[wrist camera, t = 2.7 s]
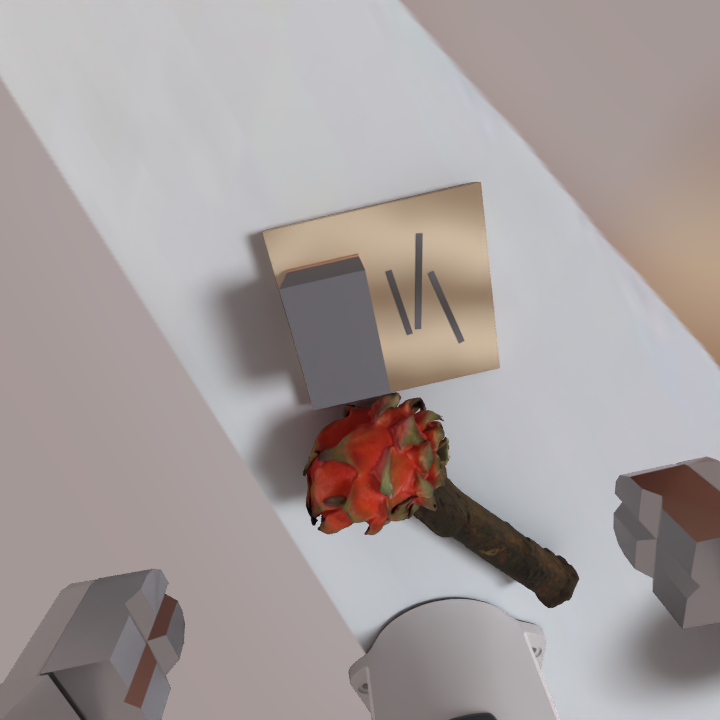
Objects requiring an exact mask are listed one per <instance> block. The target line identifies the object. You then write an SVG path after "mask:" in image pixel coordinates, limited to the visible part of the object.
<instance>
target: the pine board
mask: <svg viewBox="0 0 720 720" xmlns="http://www.w3.org/2000/svg"><path fill="white" fill-rule="evenodd" d="M262 233H263V236H264V240H265V243H266V247H267V250H268V254H269V257H270V261H271V264H272V268H273V271H274V275H275V278H276V281H277V285H278V288H279V289H280V287H281V284H282V282H283V280H284V278H285V275H286V273H287V272H286V271H287V270H288V269H292V268H297V267H301V266H305V265H310V264H314V263H318V262H323V261H327V260H331V259H336V258H340V257H344V256H349V255H353V254H359V257H360V260H361V262H362V264H363V266H364V268H365V272H366V276H367V281H368V286H369V291H370V295H371V300H372V305H373V310H374V314H375V319H376V324H377V329H378V334H379V338H380V343H381V348H382V353H383V357H384V362H385V367H386V372H387V377H388V381H389V386H390V391H391V392H396V391H400V390H404V389H409V388H413V387H418V386H422V385H427V384H431V383H436V382H440V381H444V380H449V379H453V378H458V377H462V376H467V375H471V374H476V373H480V372H485V371H489V370H493V369H498V368H500V364H499V355H498V345H497V335H496V325H495V316H494V306H493V296H492V286H491V276H490V267H489V257H488V247H487V237H486V228H485V218H484V208H483V198H482V188H481V182H471V183H467V184H463V185H458V186H454V187H450V188H445V189H441V190H437V191H432V192H428V193H424V194H419V195H415V196H411V197H406V198H402V199H398V200H393V201H389V202H385V203H380V204H376V205H372V206H367V207H363V208H359V209H354V210H350V211H346V212H341V213H337V214H333V215H328V216H324V217H320V218H315V219H311V220H307V221H302V222H298V223H294V224H289V225H285V226H281V227H276V228H272V229H268V230H265V231H264V232H262ZM279 292H280V291H279ZM280 295H281V294H280ZM281 299H282V298H281ZM282 302H283V301H282ZM283 306H284V305H283ZM284 309H285V308H284ZM285 313H286V312H285ZM286 316H287V315H286ZM287 320H288V319H287ZM288 323H289V322H288ZM289 327H290V326H289ZM290 330H291V329H290ZM292 337H293V336H292ZM293 340H294V339H293ZM294 344H295V343H294ZM295 347H296V346H295ZM296 351H297V350H296ZM297 354H298V353H297ZM298 358H299V357H298ZM299 361H300V360H299ZM300 365H301V364H300ZM301 368H302V367H301ZM302 372H303V371H302ZM303 375H304V374H303ZM304 379H305V378H304ZM305 382H306V381H305ZM307 389H308V388H307ZM309 396H310V395H309ZM310 399H311V398H310ZM311 403H312V402H311ZM312 406H313V405H312ZM313 410H314V409H313Z"/></svg>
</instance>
